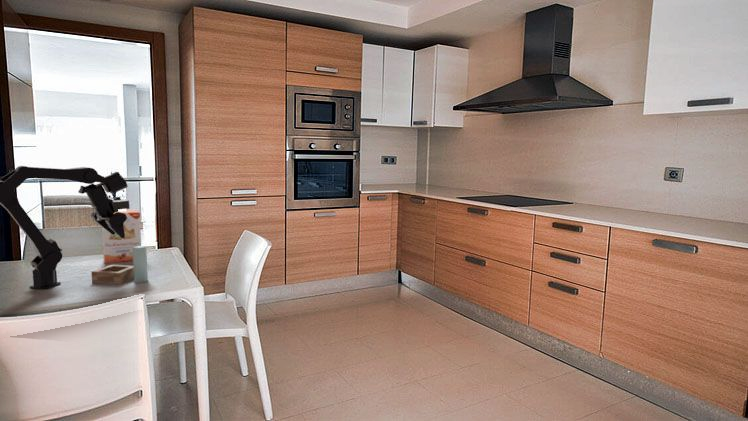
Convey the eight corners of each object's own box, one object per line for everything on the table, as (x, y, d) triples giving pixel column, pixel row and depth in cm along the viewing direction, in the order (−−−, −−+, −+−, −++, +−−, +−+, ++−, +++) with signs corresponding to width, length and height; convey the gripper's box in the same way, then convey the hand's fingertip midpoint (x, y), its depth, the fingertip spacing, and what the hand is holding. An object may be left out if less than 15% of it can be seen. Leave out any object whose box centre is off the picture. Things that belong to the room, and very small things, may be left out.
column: (142, 283, 166) (141, 248, 164) (131, 282, 167) (129, 248, 165) (150, 279, 170) (148, 246, 169) (139, 278, 171) (137, 245, 169)
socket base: (119, 284, 164) (118, 273, 163) (92, 282, 165) (91, 271, 165) (137, 276, 174) (137, 265, 174) (112, 274, 175) (111, 264, 175)
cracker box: (104, 264, 191) (101, 213, 188) (103, 260, 196) (100, 212, 193) (142, 260, 199) (140, 211, 196) (140, 257, 204) (138, 210, 201)
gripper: (131, 192, 169) (149, 229, 175) (111, 188, 181) (128, 222, 187) (100, 205, 162) (120, 243, 168) (82, 200, 174) (101, 236, 180)
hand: (118, 236), depth 176 cm, fingers open, 9 cm apart
